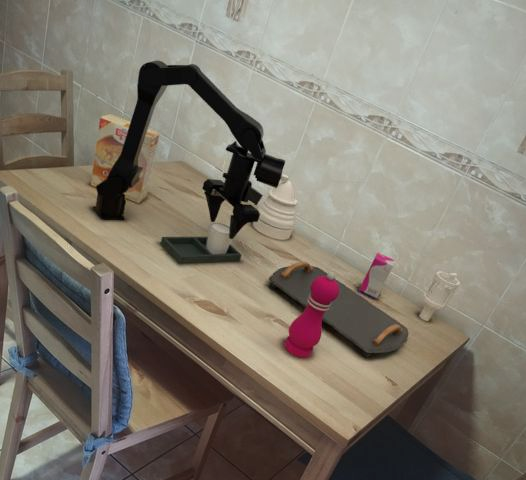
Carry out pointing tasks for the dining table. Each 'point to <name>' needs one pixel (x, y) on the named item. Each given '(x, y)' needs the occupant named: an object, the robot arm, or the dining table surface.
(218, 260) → the divided green tray
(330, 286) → the pepper mill
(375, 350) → the serving tray
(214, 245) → the shot glass
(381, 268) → the supplement box
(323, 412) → the dining table surface
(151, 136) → the coffeecake box
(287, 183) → the honey pot
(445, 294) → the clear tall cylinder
